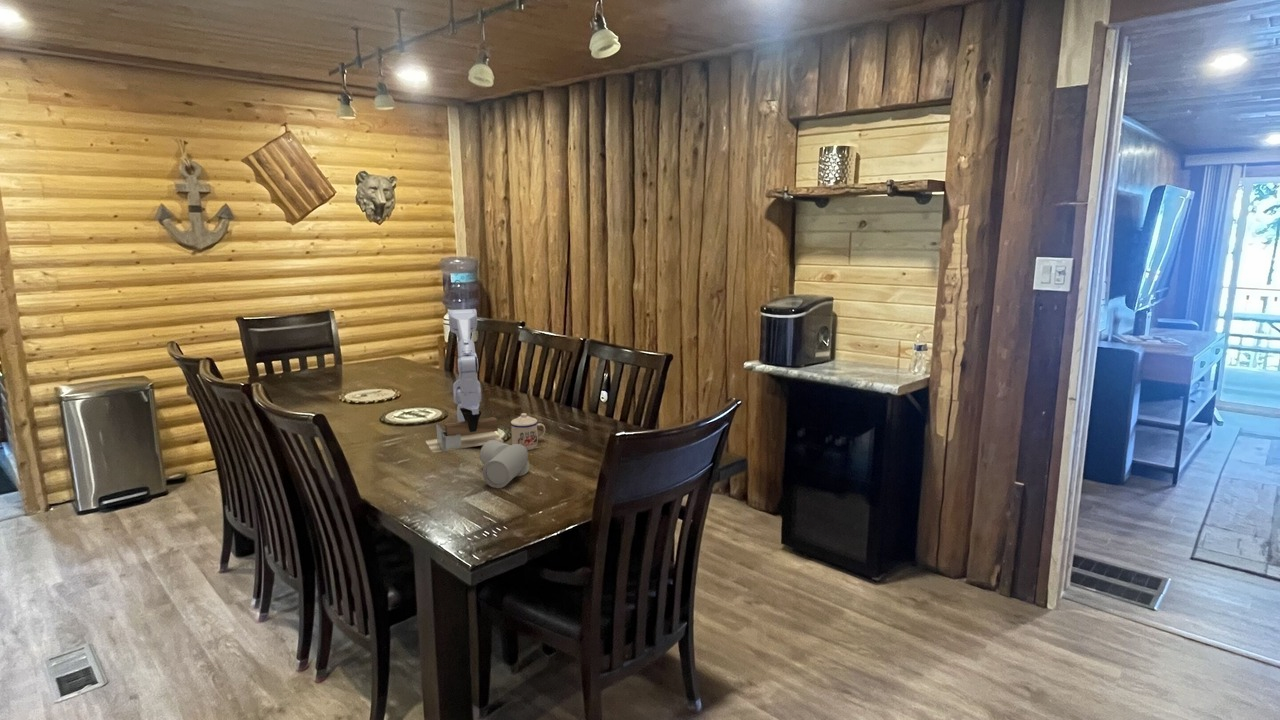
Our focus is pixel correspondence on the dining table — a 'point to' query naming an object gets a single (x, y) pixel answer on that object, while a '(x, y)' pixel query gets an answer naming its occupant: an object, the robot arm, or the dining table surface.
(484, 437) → the base board
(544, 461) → the dining table surface
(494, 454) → the elbow connector
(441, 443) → the bracket
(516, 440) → the teacup with lid
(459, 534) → the dining table surface
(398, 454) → the dining table surface
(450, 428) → the rail
